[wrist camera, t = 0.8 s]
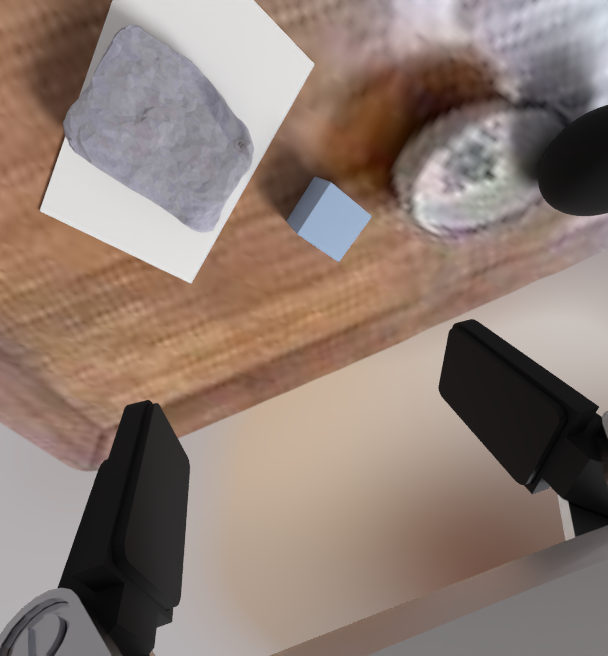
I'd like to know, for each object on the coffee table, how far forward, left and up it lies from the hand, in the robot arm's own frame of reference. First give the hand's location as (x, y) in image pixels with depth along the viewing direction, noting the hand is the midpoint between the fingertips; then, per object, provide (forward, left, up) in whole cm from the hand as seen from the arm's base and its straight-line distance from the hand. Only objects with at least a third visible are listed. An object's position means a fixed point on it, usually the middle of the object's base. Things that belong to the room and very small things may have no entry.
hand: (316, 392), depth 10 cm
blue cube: (-5, +6, -25) cm, 26 cm away
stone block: (-3, -8, -24) cm, 26 cm away
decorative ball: (-25, +26, -25) cm, 43 cm away
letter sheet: (-3, -8, -24) cm, 26 cm away
